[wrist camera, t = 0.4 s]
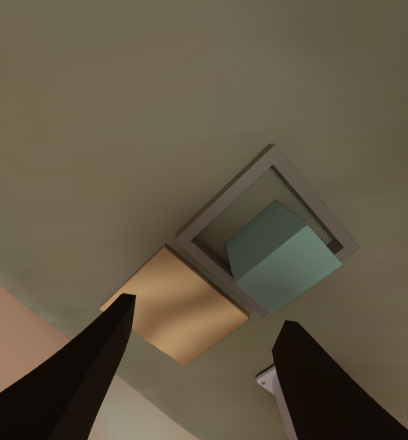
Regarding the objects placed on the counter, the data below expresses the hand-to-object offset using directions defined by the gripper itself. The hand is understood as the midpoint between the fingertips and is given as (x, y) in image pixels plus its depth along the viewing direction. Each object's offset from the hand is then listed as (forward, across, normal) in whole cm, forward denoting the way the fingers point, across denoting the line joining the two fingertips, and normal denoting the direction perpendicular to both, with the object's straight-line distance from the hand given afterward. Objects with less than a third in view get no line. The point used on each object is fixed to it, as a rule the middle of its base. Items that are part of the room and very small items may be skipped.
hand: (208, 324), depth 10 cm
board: (+10, +1, +9) cm, 14 cm away
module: (+10, -5, -1) cm, 12 cm away
